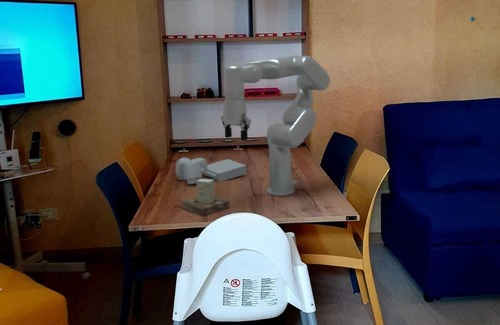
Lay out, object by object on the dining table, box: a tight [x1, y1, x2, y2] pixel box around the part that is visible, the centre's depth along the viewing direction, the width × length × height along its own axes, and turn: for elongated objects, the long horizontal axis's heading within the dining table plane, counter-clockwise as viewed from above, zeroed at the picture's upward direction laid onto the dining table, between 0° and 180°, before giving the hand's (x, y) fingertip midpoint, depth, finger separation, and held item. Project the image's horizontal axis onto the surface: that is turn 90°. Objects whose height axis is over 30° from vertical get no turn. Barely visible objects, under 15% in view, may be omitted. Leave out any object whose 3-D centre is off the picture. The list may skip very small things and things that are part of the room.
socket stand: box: [181, 195, 230, 217], centre depth 201 cm, size 14×14×3 cm
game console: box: [174, 157, 248, 185], centre depth 247 cm, size 20×32×13 cm, turn 122°
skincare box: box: [196, 178, 215, 205], centre depth 200 cm, size 6×4×12 cm
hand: (236, 138), depth 199 cm, fingers open, 9 cm apart
